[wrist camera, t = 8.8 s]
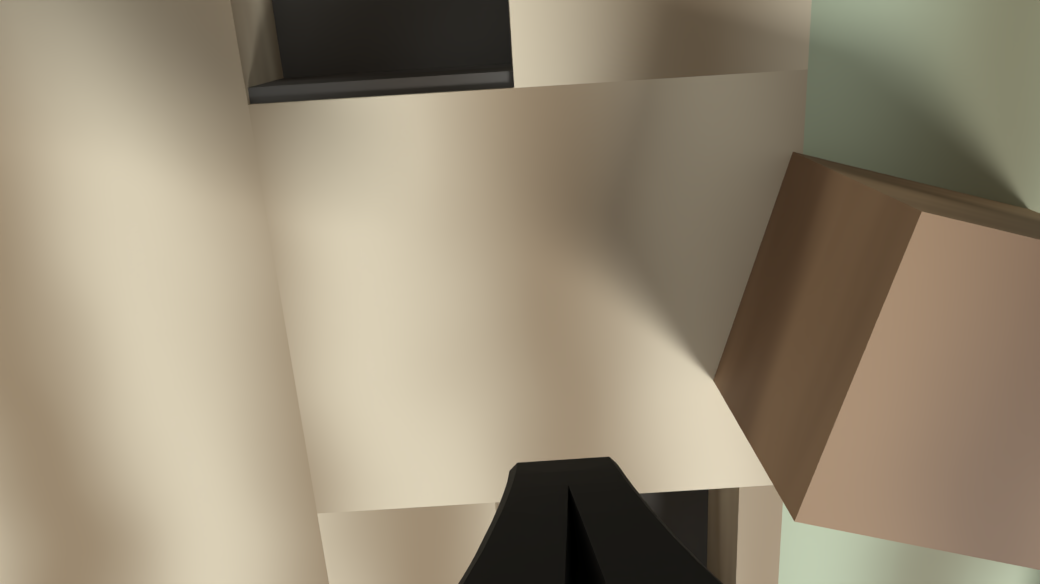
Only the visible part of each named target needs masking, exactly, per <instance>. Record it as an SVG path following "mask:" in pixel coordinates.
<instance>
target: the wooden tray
mask: <svg viewBox="0 0 1040 584" xmlns="http://www.w3.org/2000/svg"><path fill="white" fill-rule="evenodd" d="M793 152H796V153H800V154H804V155H809V156H813V157H817V158H821V159H825V160H829V161H833V162H837V163H841V164H846V165H850V166H854V167H858V168H862V169H866V170H870V171H874V172H878V173H882V174H887V175H891V176H895V177H899V178H903V179H907V180H911V181H915V182H919V183H924V184H928V185H932V186H936V187H940V188H944V189H948V190H952V191H956V192H960V193H965V194H969V195H973V196H977V197H981V198H985V199H989V200H993V201H997V202H1002V203H1006V204H1010V205H1014V206H1018V207H1022V208H1026V209H1030V210H1032V211H1035V212H1038V213H1040V0H0V584H458V583H459V582H460V580H461V578H462V577H463V575H464V573H465V572H466V570H467V569H468V567H469V565H470V563H471V562H472V560H473V558H474V556H475V554H476V552H477V550H478V548H479V546H480V544H481V542H482V540H483V538H484V536H485V534H486V532H487V530H488V528H489V526H490V524H491V522H492V520H493V518H494V515H495V513H496V510H497V508H498V506H499V503H500V501H501V498H502V496H503V493H504V490H505V487H506V484H507V480H508V475H509V471H510V470H511V469H512V468H513V467H514V466H515V465H516V463H518V462H534V461H549V460H564V459H579V458H594V457H610V458H611V459H613V460H614V461H615V462H616V463H617V464H618V465H619V467H620V468H621V470H622V471H623V473H624V474H625V475H626V477H627V478H628V480H629V481H630V482H631V484H632V485H633V486H634V487H635V489H636V490H637V491H638V493H639V494H640V495H641V496H642V498H643V499H644V500H645V501H646V502H647V504H648V505H649V506H650V507H651V509H652V510H653V511H654V512H655V513H656V514H657V516H658V517H659V518H660V519H661V520H662V521H663V523H664V524H665V525H666V526H667V527H668V528H669V529H670V530H671V531H672V532H673V533H674V535H675V536H676V537H677V538H678V539H679V540H680V541H681V542H682V543H683V544H684V545H685V546H686V548H687V549H688V550H689V551H690V552H691V553H692V554H693V555H694V556H695V557H696V558H697V559H698V560H699V561H700V562H701V563H702V564H703V565H704V566H705V567H706V568H707V569H708V570H709V571H710V572H711V573H712V574H713V575H714V576H715V577H716V578H718V579H719V580H720V581H721V582H722V583H723V584H1040V570H1037V569H1032V568H1027V567H1022V566H1016V565H1011V564H1006V563H1001V562H996V561H991V560H986V559H981V558H976V557H971V556H966V555H961V554H956V553H951V552H946V551H940V550H935V549H930V548H925V547H920V546H915V545H910V544H905V543H900V542H895V541H890V540H885V539H880V538H875V537H870V536H864V535H859V534H854V533H849V532H844V531H839V530H834V529H829V528H824V527H819V526H814V525H809V524H804V523H799V522H794V520H793V518H792V517H791V515H790V513H789V511H788V510H787V508H786V506H785V504H784V503H783V501H782V499H781V498H780V496H779V494H778V492H777V491H776V489H775V487H774V485H773V484H772V482H771V480H770V478H769V477H768V475H767V473H766V471H765V470H764V468H763V466H762V465H761V463H760V461H759V459H758V458H757V456H756V454H755V452H754V451H753V449H752V447H751V445H750V444H749V442H748V440H747V438H746V437H745V435H744V433H743V432H742V430H741V428H740V426H739V425H738V423H737V421H736V419H735V418H734V416H733V414H732V412H731V411H730V409H729V407H728V405H727V404H726V402H725V400H724V399H723V397H722V395H721V393H720V392H719V390H718V388H717V386H716V385H715V383H714V381H713V379H714V377H715V374H716V371H717V368H718V365H719V362H720V359H721V356H722V354H723V351H724V348H725V345H726V342H727V339H728V336H729V334H730V331H731V328H732V325H733V322H734V319H735V316H736V313H737V311H738V308H739V305H740V302H741V299H742V296H743V293H744V290H745V288H746V285H747V282H748V279H749V276H750V273H751V270H752V267H753V265H754V262H755V259H756V256H757V253H758V250H759V247H760V244H761V242H762V239H763V236H764V233H765V230H766V227H767V224H768V221H769V219H770V216H771V213H772V210H773V207H774V204H775V201H776V199H777V196H778V193H779V190H780V187H781V184H782V181H783V178H784V176H785V173H786V170H787V167H788V164H789V161H790V158H791V155H792V153H793Z"/></svg>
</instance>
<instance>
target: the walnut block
mask: <svg viewBox="0 0 1040 584" xmlns="http://www.w3.org/2000/svg"><path fill="white" fill-rule="evenodd" d="M713 381H714V383H715V385H716V386H717V388H718V390H719V392H720V393H721V395H722V397H723V399H724V400H725V402H726V404H727V405H728V407H729V409H730V411H731V412H732V414H733V416H734V418H735V419H736V421H737V423H738V425H739V426H740V428H741V430H742V432H743V433H744V435H745V437H746V438H747V440H748V442H749V444H750V445H751V447H752V449H753V451H754V452H755V454H756V456H757V458H758V459H759V461H760V463H761V465H762V466H763V468H764V470H765V471H766V473H767V475H768V477H769V478H770V480H771V482H772V484H773V485H774V487H775V489H776V491H777V492H778V494H779V496H780V498H781V499H782V501H783V503H784V504H785V506H786V508H787V510H788V511H789V513H790V515H791V517H792V518H793V520H794V522H799V523H804V524H809V525H814V526H819V527H824V528H829V529H834V530H839V531H844V532H849V533H854V534H859V535H864V536H870V537H875V538H880V539H885V540H890V541H895V542H900V543H905V544H910V545H915V546H920V547H925V548H930V549H935V550H940V551H946V552H951V553H956V554H961V555H966V556H971V557H976V558H981V559H986V560H991V561H996V562H1001V563H1006V564H1011V565H1016V566H1022V567H1027V568H1032V569H1037V570H1040V213H1038V212H1035V211H1032V210H1030V209H1026V208H1022V207H1018V206H1014V205H1010V204H1006V203H1002V202H997V201H993V200H989V199H985V198H981V197H977V196H973V195H969V194H965V193H960V192H956V191H952V190H948V189H944V188H940V187H936V186H932V185H928V184H924V183H919V182H915V181H911V180H907V179H903V178H899V177H895V176H891V175H887V174H882V173H878V172H874V171H870V170H866V169H862V168H858V167H854V166H850V165H846V164H841V163H837V162H833V161H829V160H825V159H821V158H817V157H813V156H809V155H804V154H800V153H796V152H793V153H792V155H791V158H790V161H789V164H788V167H787V170H786V173H785V176H784V178H783V181H782V184H781V187H780V190H779V193H778V196H777V199H776V201H775V204H774V207H773V210H772V213H771V216H770V219H769V221H768V224H767V227H766V230H765V233H764V236H763V239H762V242H761V244H760V247H759V250H758V253H757V256H756V259H755V262H754V265H753V267H752V270H751V273H750V276H749V279H748V282H747V285H746V288H745V290H744V293H743V296H742V299H741V302H740V305H739V308H738V311H737V313H736V316H735V319H734V322H733V325H732V328H731V331H730V334H729V336H728V339H727V342H726V345H725V348H724V351H723V354H722V356H721V359H720V362H719V365H718V368H717V371H716V374H715V377H714V379H713Z"/></svg>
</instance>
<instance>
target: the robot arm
mask: <svg viewBox="0 0 1040 584" xmlns="http://www.w3.org/2000/svg"><path fill="white" fill-rule="evenodd" d="M458 584H723V583H722V582H721V581H720V580H719V579H718V578H716V577H715V576H714V575H713V574H712V573H711V572H710V571H709V570H708V569H707V568H706V567H705V566H704V565H703V564H702V563H701V562H700V561H699V560H698V559H697V558H696V557H695V556H694V555H693V554H692V553H691V552H690V551H689V550H688V549H687V548H686V546H685V545H684V544H683V543H682V542H681V541H680V540H679V539H678V538H677V537H676V536H675V535H674V533H673V532H672V531H671V530H670V529H669V528H668V527H667V526H666V525H665V524H664V523H663V521H662V520H661V519H660V518H659V517H658V516H657V514H656V513H655V512H654V511H653V510H652V509H651V507H650V506H649V505H648V504H647V502H646V501H645V500H644V499H643V498H642V496H641V495H640V494H639V493H638V491H637V490H636V489H635V487H634V486H633V485H632V484H631V482H630V481H629V480H628V478H627V477H626V475H625V474H624V473H623V471H622V470H621V468H620V467H619V465H618V464H617V463H616V462H615V461H614V460H613V459H611V458H610V457H594V458H579V459H564V460H549V461H534V462H518V463H516V465H515V466H514V467H513V468H512V469H511V470H510V471H509V475H508V480H507V484H506V487H505V490H504V493H503V496H502V498H501V501H500V503H499V506H498V508H497V510H496V513H495V515H494V518H493V520H492V522H491V524H490V526H489V528H488V530H487V532H486V534H485V536H484V538H483V540H482V542H481V544H480V546H479V548H478V550H477V552H476V554H475V556H474V558H473V560H472V562H471V563H470V565H469V567H468V569H467V570H466V572H465V573H464V575H463V577H462V578H461V580H460V582H459V583H458Z"/></svg>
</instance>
